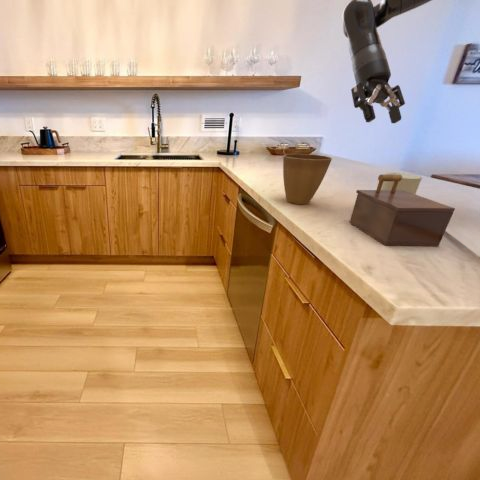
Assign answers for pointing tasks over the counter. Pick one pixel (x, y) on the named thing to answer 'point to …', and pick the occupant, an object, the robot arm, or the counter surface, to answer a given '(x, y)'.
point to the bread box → (399, 224)
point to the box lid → (402, 198)
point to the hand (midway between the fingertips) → (384, 121)
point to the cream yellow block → (403, 183)
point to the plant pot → (303, 176)
